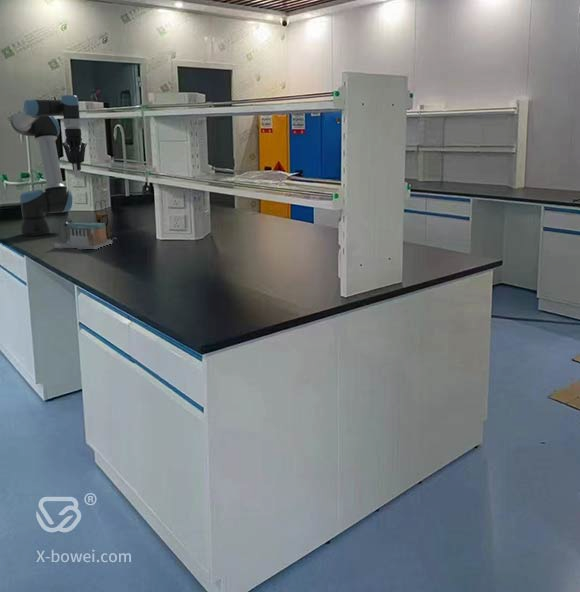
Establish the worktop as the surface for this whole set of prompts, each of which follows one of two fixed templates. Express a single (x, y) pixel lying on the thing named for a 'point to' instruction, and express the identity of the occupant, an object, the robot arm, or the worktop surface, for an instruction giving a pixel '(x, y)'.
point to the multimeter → (103, 220)
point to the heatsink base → (82, 237)
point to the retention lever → (85, 225)
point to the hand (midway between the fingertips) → (77, 176)
